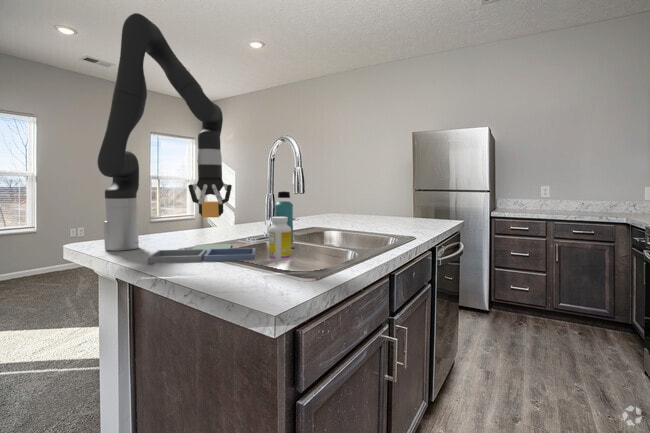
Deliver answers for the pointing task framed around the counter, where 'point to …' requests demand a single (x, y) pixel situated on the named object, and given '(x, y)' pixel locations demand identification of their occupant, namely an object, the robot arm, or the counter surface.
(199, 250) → the grey tray
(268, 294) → the counter surface
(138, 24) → the robot arm
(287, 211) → the beverage bottle
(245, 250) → the navy tray
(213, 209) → the orange cube
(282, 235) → the supplement bottle
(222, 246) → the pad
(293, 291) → the counter surface
